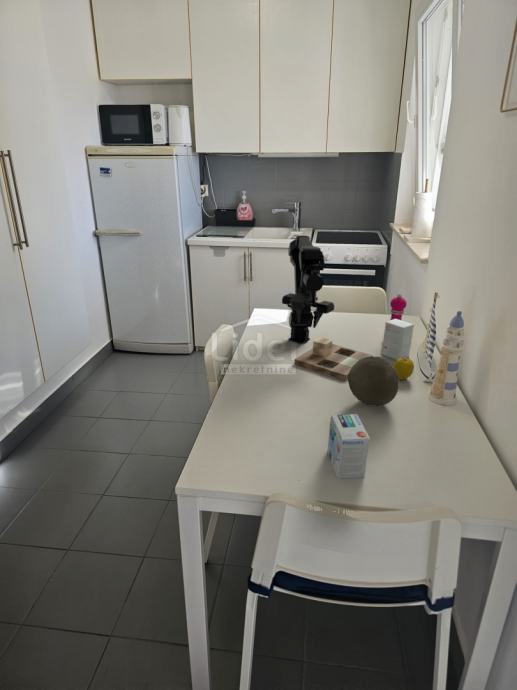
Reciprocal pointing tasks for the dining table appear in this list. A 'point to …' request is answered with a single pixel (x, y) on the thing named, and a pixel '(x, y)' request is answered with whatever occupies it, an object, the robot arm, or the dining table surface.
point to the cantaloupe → (373, 381)
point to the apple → (404, 367)
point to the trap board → (331, 361)
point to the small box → (397, 339)
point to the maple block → (322, 347)
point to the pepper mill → (397, 307)
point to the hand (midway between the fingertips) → (306, 325)
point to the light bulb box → (348, 446)
